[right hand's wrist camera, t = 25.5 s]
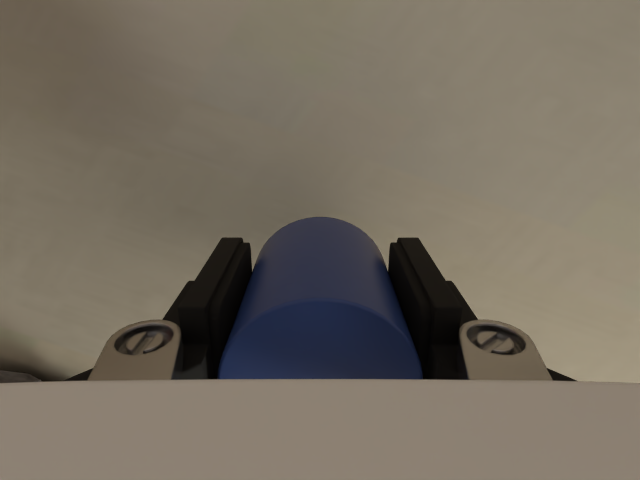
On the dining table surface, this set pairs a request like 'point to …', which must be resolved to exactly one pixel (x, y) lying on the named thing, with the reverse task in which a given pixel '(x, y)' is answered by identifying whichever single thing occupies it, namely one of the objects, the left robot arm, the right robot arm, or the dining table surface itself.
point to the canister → (320, 310)
